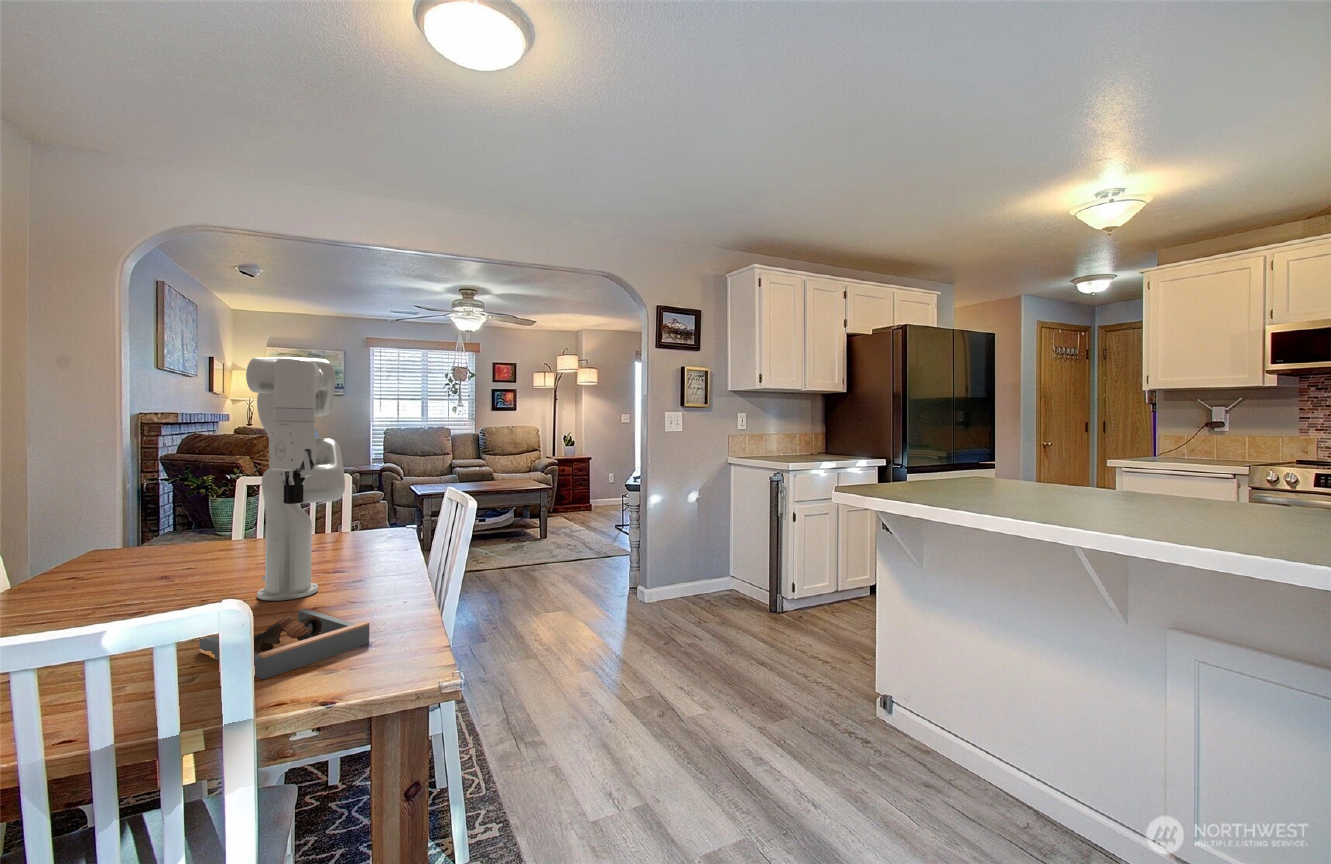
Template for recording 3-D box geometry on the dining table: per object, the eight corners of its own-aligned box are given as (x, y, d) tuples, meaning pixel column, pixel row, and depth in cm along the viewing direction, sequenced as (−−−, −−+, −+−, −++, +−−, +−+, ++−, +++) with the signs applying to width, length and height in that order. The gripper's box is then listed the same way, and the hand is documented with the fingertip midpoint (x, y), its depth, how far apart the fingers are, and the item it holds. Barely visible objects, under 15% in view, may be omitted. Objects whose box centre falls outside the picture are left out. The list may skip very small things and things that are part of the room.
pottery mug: (288, 674, 101) (261, 634, 100) (257, 688, 104) (230, 649, 104) (343, 633, 112) (320, 597, 111) (313, 647, 115) (290, 612, 115)
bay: (199, 652, 108) (199, 630, 108) (305, 622, 124) (305, 604, 124) (263, 679, 97) (263, 655, 97) (369, 643, 114) (369, 622, 114)
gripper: (256, 416, 126) (255, 502, 126) (296, 417, 118) (295, 508, 119) (292, 417, 132) (291, 498, 132) (332, 418, 125) (331, 504, 125)
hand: (293, 503), depth 126 cm, fingers closed
